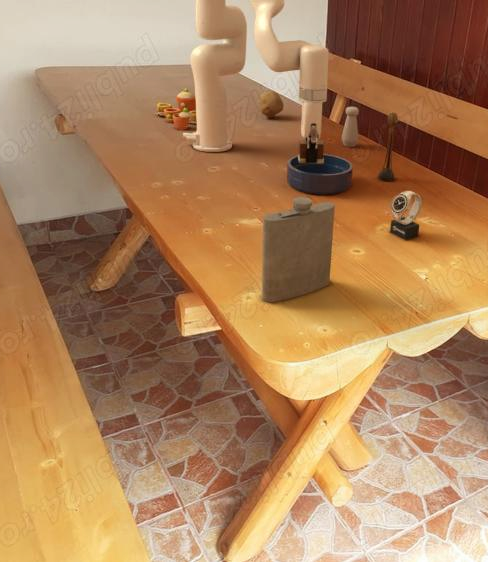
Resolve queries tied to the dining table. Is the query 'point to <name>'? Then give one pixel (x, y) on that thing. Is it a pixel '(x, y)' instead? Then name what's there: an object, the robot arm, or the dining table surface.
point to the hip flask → (297, 250)
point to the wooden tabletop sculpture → (389, 151)
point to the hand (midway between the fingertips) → (310, 159)
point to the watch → (399, 206)
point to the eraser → (303, 151)
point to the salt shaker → (350, 128)
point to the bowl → (320, 175)
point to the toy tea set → (180, 110)
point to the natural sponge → (270, 104)
